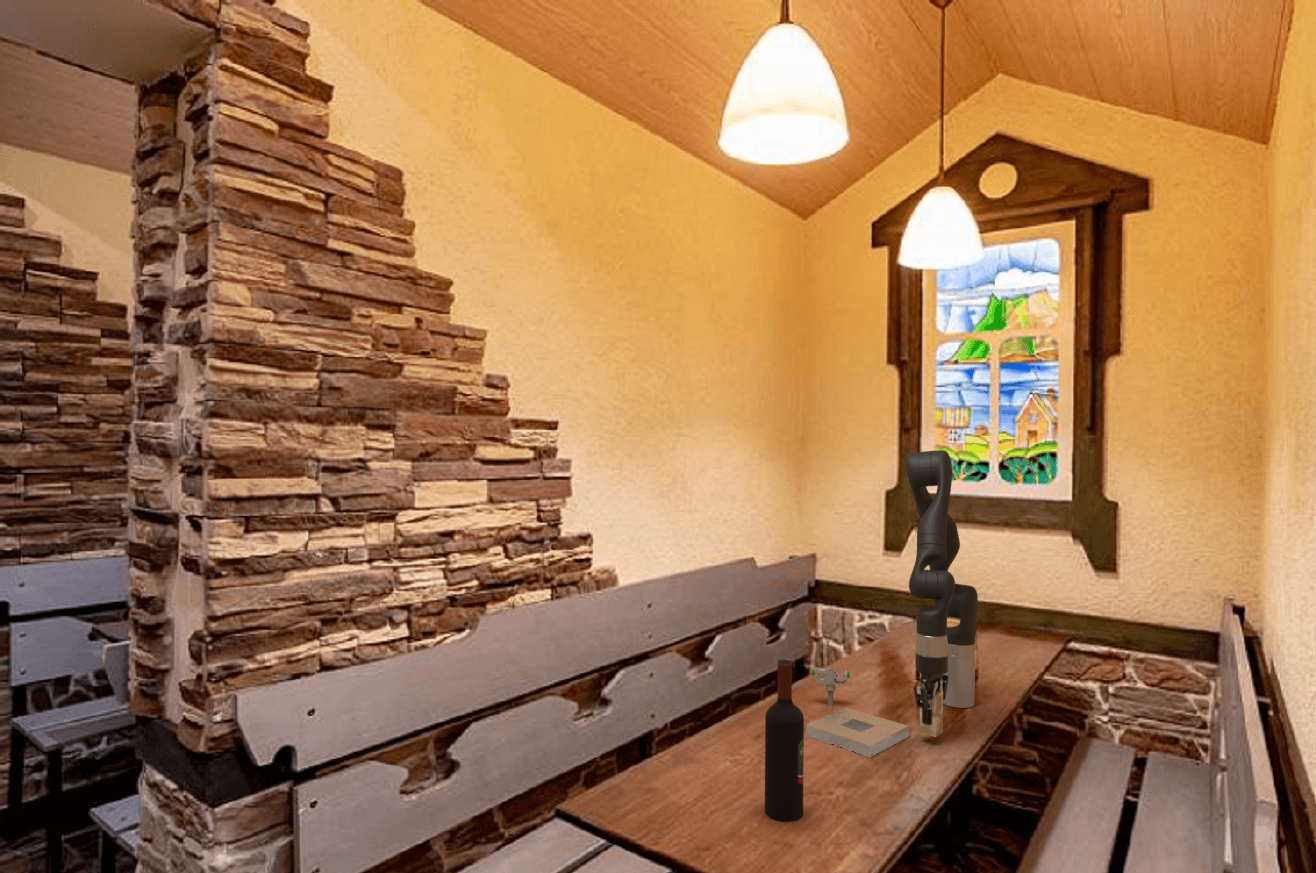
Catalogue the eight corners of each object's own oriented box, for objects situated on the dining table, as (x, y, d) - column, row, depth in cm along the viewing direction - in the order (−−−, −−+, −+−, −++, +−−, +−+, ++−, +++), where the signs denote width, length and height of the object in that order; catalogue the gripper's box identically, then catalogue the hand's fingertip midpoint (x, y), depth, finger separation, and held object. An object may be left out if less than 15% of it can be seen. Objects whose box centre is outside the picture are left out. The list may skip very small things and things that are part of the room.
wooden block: (927, 727, 196) (927, 687, 196) (942, 732, 193) (943, 691, 193) (919, 732, 193) (919, 691, 193) (935, 737, 190) (935, 695, 190)
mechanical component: (849, 709, 216) (850, 672, 215) (811, 706, 218) (811, 670, 217) (849, 705, 218) (849, 669, 218) (811, 702, 220) (811, 666, 220)
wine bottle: (760, 804, 160) (762, 656, 160) (797, 802, 161) (798, 655, 161) (769, 822, 153) (770, 667, 152) (807, 821, 153) (808, 667, 153)
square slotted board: (845, 717, 209) (845, 707, 209) (908, 737, 196) (908, 725, 196) (805, 735, 196) (805, 724, 196) (870, 757, 183) (870, 745, 183)
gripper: (930, 642, 200) (930, 710, 201) (903, 654, 190) (902, 725, 191) (959, 648, 195) (959, 717, 195) (932, 661, 185) (932, 733, 185)
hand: (931, 721), depth 193 cm, fingers closed on wooden block, 4 cm apart
